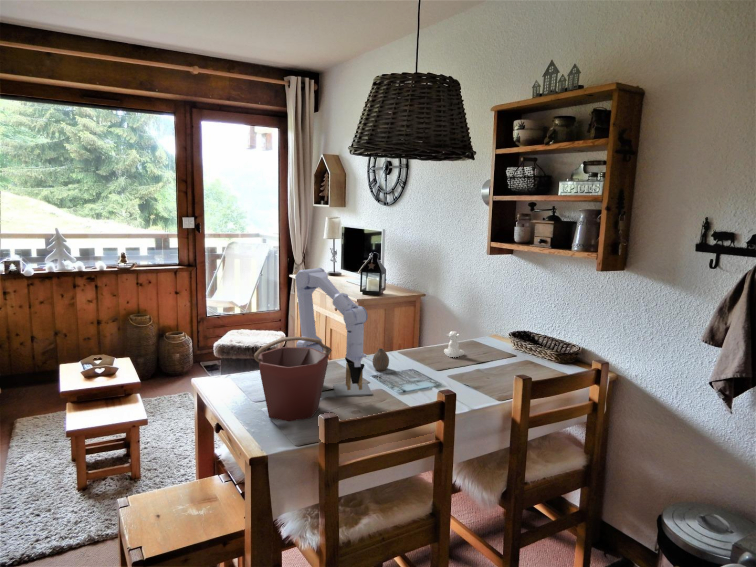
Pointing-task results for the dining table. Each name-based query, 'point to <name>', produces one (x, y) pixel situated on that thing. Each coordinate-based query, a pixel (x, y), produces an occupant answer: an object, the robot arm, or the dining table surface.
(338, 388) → the mat
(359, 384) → the stool
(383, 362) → the vase
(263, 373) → the bucket
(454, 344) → the seated beast figurine
